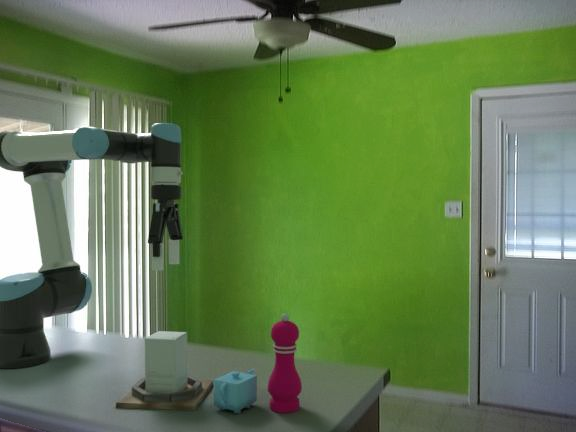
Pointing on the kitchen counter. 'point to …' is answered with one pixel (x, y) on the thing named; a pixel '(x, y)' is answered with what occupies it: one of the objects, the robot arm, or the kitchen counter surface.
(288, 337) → the pepper mill
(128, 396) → the collar plate
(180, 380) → the supplement box
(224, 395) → the teapot
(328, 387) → the kitchen counter surface
